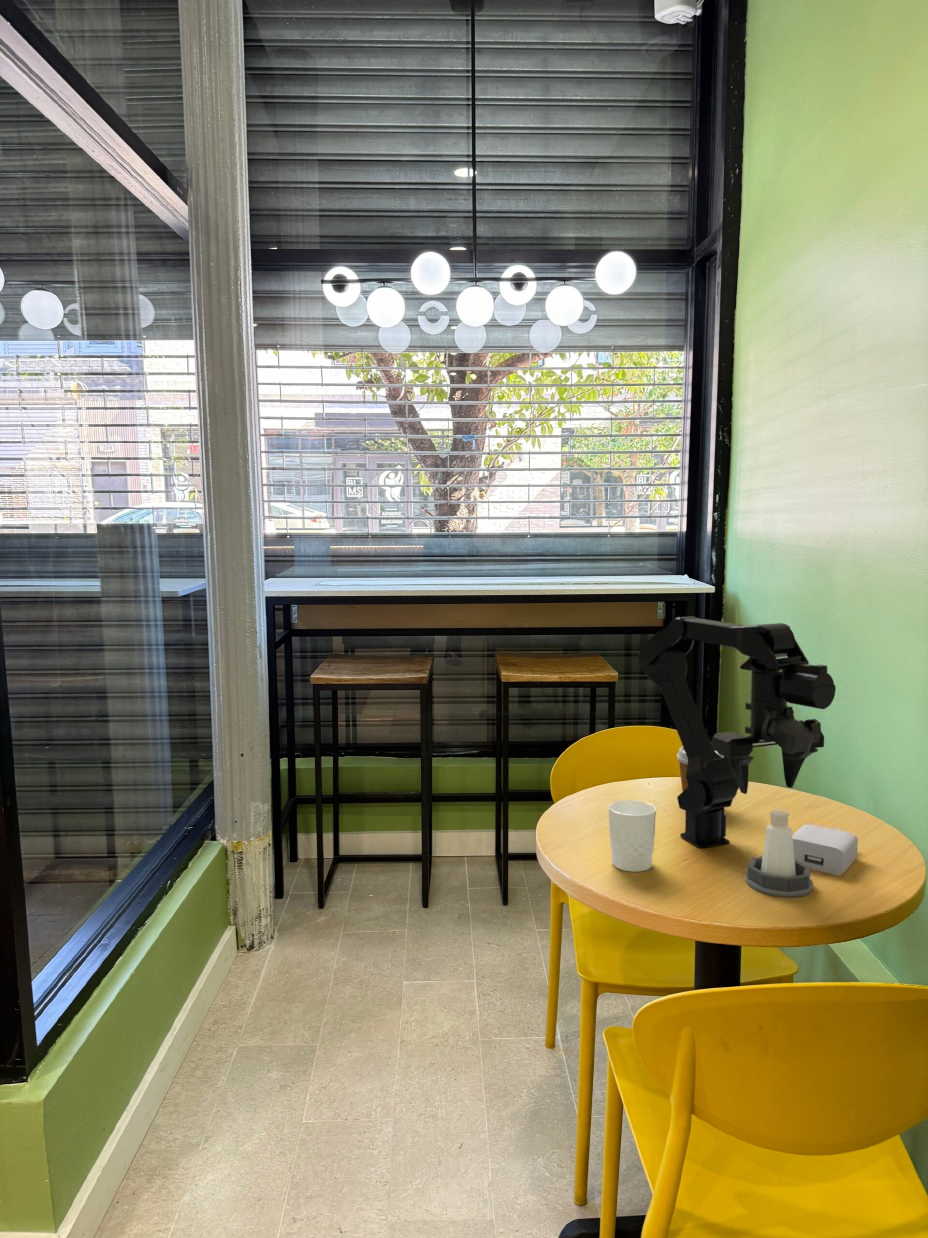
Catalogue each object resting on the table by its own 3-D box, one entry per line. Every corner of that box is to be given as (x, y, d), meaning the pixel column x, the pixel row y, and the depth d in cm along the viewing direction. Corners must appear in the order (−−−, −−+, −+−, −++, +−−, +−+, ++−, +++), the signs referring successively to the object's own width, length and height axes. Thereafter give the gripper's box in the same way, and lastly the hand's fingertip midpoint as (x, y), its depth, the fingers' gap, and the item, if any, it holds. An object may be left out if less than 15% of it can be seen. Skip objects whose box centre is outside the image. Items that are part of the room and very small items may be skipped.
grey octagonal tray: (774, 901, 122) (774, 884, 122) (732, 876, 131) (733, 859, 131) (826, 892, 125) (827, 874, 125) (783, 867, 135) (783, 851, 134)
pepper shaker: (803, 881, 127) (805, 814, 126) (778, 888, 125) (780, 819, 124) (777, 869, 132) (778, 804, 131) (752, 875, 130) (753, 809, 129)
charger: (865, 850, 142) (843, 878, 131) (811, 838, 148) (785, 864, 137) (866, 824, 142) (844, 849, 130) (812, 813, 148) (786, 837, 136)
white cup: (626, 877, 132) (626, 818, 131) (599, 860, 139) (599, 804, 138) (665, 868, 135) (665, 811, 134) (637, 852, 142) (637, 797, 141)
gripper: (753, 713, 123) (751, 812, 124) (850, 703, 128) (847, 798, 130) (709, 699, 133) (708, 791, 135) (801, 691, 139) (799, 779, 140)
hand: (766, 790), depth 135 cm, fingers open, 9 cm apart
